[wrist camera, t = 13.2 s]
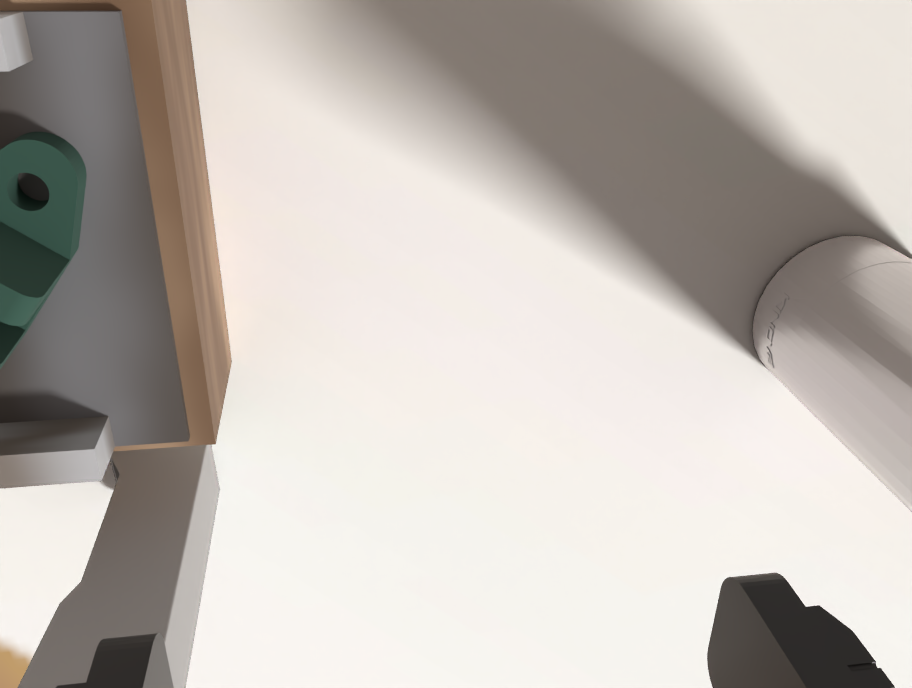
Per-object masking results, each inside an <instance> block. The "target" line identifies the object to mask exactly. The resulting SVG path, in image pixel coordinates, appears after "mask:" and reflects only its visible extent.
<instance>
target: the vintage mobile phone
mask: <svg viewBox="0 0 912 688" xmlns="http://www.w3.org/2000/svg"><path fill="white" fill-rule="evenodd" d="M110 460H111V464H112V468H113V472H114V476H115V480H116V486H115V488H114V491H113V494H112V497H111V500H110V502H109V505H108V508H107V511H106V513H105V516H104V519H103V522H102V525H101V527H100V530H99V533H98V536H97V539H96V541H95V544H94V547H93V550H92V552H91V555H90V558H89V561H88V564H87V566H86V569H85V572H84V575H83V578H82V580H81V582H80V583H79V584H78V585H77V586H76V587H75V588H74V589H73V590H72V591H71V593H70V594H69V595H68V596H67V597H66V598H65V599H64V600H63V601H62V602H61V603H60V604H59V606H58V608H57V610H56V612H55V614H54V616H53V618H52V620H51V622H50V624H49V626H48V628H47V630H46V632H45V634H44V636H43V638H42V640H41V642H40V644H39V646H38V648H37V650H36V652H35V654H34V656H33V658H32V660H31V662H30V664H29V666H28V669H27V670H26V672H25V674H24V676H23V678H22V680H21V682H20V684H19V686H18V688H56V687H57V686H58V685H67V684H76V683H86V681H87V678H88V674H89V671H90V668H91V665H92V661H93V658H94V655H95V652H96V649H97V646H98V644H99V642H100V641H101V640H102V639H106V638H116V637H126V636H136V635H146V634H156V633H160V634H161V635H162V636H163V639H164V643H165V647H166V652H167V657H168V662H169V667H170V672H171V677H172V682H173V686H174V688H186V682H187V676H188V670H189V664H190V659H191V653H192V647H193V641H194V635H195V630H196V624H197V618H198V612H199V606H200V601H201V595H202V589H203V583H204V578H205V572H206V566H207V560H208V554H209V549H210V543H211V537H212V531H213V525H214V520H215V514H216V508H217V502H218V496H219V491H220V488H219V483H218V477H217V472H216V467H215V462H214V457H213V451H212V446H211V445H197V446H183V447H169V448H155V449H141V450H127V451H113V453H112V456H111V458H110Z"/></svg>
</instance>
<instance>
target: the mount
mask: <svg viewBox="0 0 912 688" xmlns="http://www.w3.org/2000/svg"><path fill="white" fill-rule="evenodd" d="M19 173H31V174H34V175H36V176H38V177H39V178H40V179H42V180H43V181H44V182H45V184H46V185H47V187H48V190H49V200H45V201H40V200H35V199H32V198H30V197H29V196H27V195H26V194H25V193H24V192H23V191H22V189H21V188H20V186H19V183H18V175H19ZM86 177H87V174H86V167H85V164H84V161H83V159H82V157H81V155H80V154H79V152H78V151H77V150H76V149H75V148H74V147H73V146H72V145H71V144H70V143H69V142H67V141H66V140H65V139H63V138H61V137H59V136H57V135H54V134H51V133H47V132H30V133H26V134H23V135H21V136H19V137H18V138H16V139H15V140H13V141H12V142H10V143H9V144H8V145H6V146H5V147H3V148H2V149H0V369H1V367H2V366H3V365H4V363H5V362H6V360H7V359H8V358H9V356H10V355H11V353H12V352H13V351H14V349H15V348H16V346H17V345H18V343H19V342H20V341H21V339H22V338H23V336H24V335H25V334H26V332H27V331H28V329H29V327H30V326H31V324H32V323H33V321H34V319H35V318H36V316H37V314H38V313H39V311H40V310H41V308H42V306H43V305H44V303H45V302H46V300H47V298H48V297H49V295H50V294H51V292H52V290H53V289H54V287H55V285H56V284H57V282H58V281H59V279H60V277H61V276H62V274H63V273H64V271H65V269H66V268H67V266H68V265H69V263H70V261H71V260H72V258H73V256H74V255H75V253H76V252H77V250H78V248H79V240H80V231H81V222H82V213H83V205H84V196H85V187H86Z"/></svg>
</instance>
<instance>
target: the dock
mask: <svg viewBox="0 0 912 688" xmlns="http://www.w3.org/2000/svg"><path fill="white" fill-rule="evenodd" d="M30 132H47V133H51V134H54V135H57V136H59V137H61V138H63V139H65V140H66V141H67V142H69V143H70V144H71V145H72V146H73V147H74V148H75V149H76V150H77V151H78V152H79V154H80V155H81V157H82V159H83V161H84V164H85V167H86V174H87V177H86V187H85V196H84V205H83V213H82V222H81V231H80V240H79V248H78V250H77V252H76V253H75V255H74V256H73V258H72V260H71V261H70V263H69V265H68V266H67V268H66V269H65V271H64V273H63V274H62V276H61V277H60V279H59V281H58V282H57V284H56V285H55V287H54V289H53V290H52V292H51V294H50V295H49V297H48V298H47V300H46V302H45V303H44V305H43V306H42V308H41V310H40V311H39V313H38V314H37V316H36V318H35V319H34V321H33V323H32V324H31V326H30V327H29V329H28V331H27V332H26V334H25V335H24V336H23V338H22V339H21V341H20V342H19V343H18V345H17V346H16V348H15V349H14V351H13V352H12V353H11V355H10V356H9V358H8V359H7V360H6V362H5V363H4V365H3V366H2V367H1V369H0V488H12V487H26V486H39V485H52V484H65V483H78V482H92V481H102V479H103V476H104V474H105V471H106V468H107V466H108V463H109V461H110V458H111V456H112V453H113V451H127V450H141V449H155V448H169V447H183V446H197V445H211V444H216V439H217V434H218V429H219V423H220V418H221V413H222V408H223V403H224V398H225V393H226V388H227V383H228V378H229V372H230V367H231V362H232V361H231V353H230V345H229V337H228V329H227V322H226V314H225V306H224V298H223V290H222V282H221V274H220V266H219V259H218V251H217V243H216V235H215V227H214V219H213V211H212V203H211V195H210V188H209V180H208V172H207V164H206V156H205V148H204V140H203V132H202V125H201V117H200V109H199V101H198V93H197V85H196V77H195V69H194V61H193V54H192V46H191V38H190V30H189V22H188V14H187V6H186V0H0V149H2V148H3V147H5V146H6V145H8V144H9V143H10V142H12V141H13V140H15V139H16V138H18V137H19V136H21V135H23V134H26V133H30ZM18 183H19V186H20V188H21V189H22V191H23V192H24V193H25V194H26V195H27V196H29V197H30V198H32V199H35V200H40V201H45V200H49V190H48V187H47V185H46V184H45V182H44V181H43V180H42V179H40V178H39V177H38V176H36V175H34V174H31V173H19V175H18Z"/></svg>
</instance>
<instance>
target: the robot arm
mask: <svg viewBox="0 0 912 688" xmlns="http://www.w3.org/2000/svg"><path fill="white" fill-rule="evenodd" d="M753 339H754V346H755V349H756V351H757V354H758V356H759V358H760V360H761V361H762V363H763V364H764V365H765V366H766V368H767V369H768V370H769V371H770V372H771V373H772V374H773V375H774V376H775V377H776V378H777V379H778V380H779V381H780V382H781V383H782V384H783V385H784V386H785V387H786V388H787V389H788V390H789V391H790V392H791V393H792V394H793V395H794V396H795V397H796V398H797V399H798V400H799V401H800V402H801V403H802V404H803V405H804V406H805V407H806V408H807V409H808V410H809V411H810V412H811V413H812V414H813V415H814V416H815V417H816V418H817V419H818V420H819V421H820V422H821V423H822V424H823V425H824V426H825V427H826V428H827V429H828V430H829V431H830V432H831V433H832V434H833V435H834V436H835V437H836V438H837V439H838V440H839V441H840V442H841V443H842V444H843V445H844V446H845V447H846V448H847V449H848V450H849V451H850V452H851V453H852V454H854V455H855V456H856V457H857V458H858V459H859V460H860V461H861V462H862V463H863V464H864V465H865V466H866V467H867V468H868V469H869V470H870V471H871V472H872V473H873V474H874V475H875V476H876V477H877V478H878V479H879V480H880V481H881V482H882V483H883V484H884V485H885V486H886V487H887V488H888V489H889V490H890V491H891V492H892V493H893V494H894V495H895V496H896V497H897V498H898V499H899V500H900V501H901V502H902V503H903V504H904V505H905V506H906V507H907V508H908V509H909V510H910V511H911V512H912V258H911V259H910V258H908V257H907V256H905V255H903V254H901V253H899V252H898V251H896V250H894V249H892V248H891V247H889V246H887V245H885V244H883V243H881V242H879V241H877V240H875V239H872V238H867V237H862V236H841V237H836V238H832V239H828V240H824V241H822V242H820V243H817V244H815V245H813V246H811V247H808V248H807V249H805V250H804V251H802V252H801V253H799V254H798V255H796V256H795V257H793V258H792V259H791V260H790V261H789V262H787V263H786V264H785V265H784V266H783V267H782V268H781V269H780V270H779V271H778V272H777V273H776V275H775V276H774V277H773V279H772V280H771V281H770V282H769V284H768V285H767V287H766V289H765V290H764V292H763V294H762V296H761V298H760V300H759V302H758V305H757V309H756V312H755V315H754V322H753ZM707 660H708V670H709V676H710V680H711V683H712V687H713V688H895V687H894V685H893V684H892V683H891V681H890V680H889V679H888V677H887V676H886V675H885V673H884V672H883V671H882V669H881V668H877V666H876V661H875V660H874V659H873V657H872V656H871V655H870V653H869V652H868V651H867V649H866V648H865V647H864V645H863V644H862V643H861V642H860V640H859V639H858V638H857V636H856V635H855V634H854V632H853V631H852V630H851V629H849V628H848V627H847V626H845V625H844V624H843V623H841V622H840V621H839V620H838V619H836V618H835V617H834V616H832V615H831V614H830V613H828V612H827V611H826V610H824V609H823V608H822V607H820V606H810V607H805V605H804V604H803V603H802V601H801V600H800V598H799V597H798V596H797V594H796V593H795V591H794V590H793V589H792V587H791V586H790V584H789V583H788V582H787V580H786V579H785V578H784V577H783V576H782V575H780V574H778V573H768V574H758V575H748V576H738V577H729V578H726V579H725V580H724V581H723V584H722V586H721V590H720V595H719V600H718V604H717V609H716V614H715V618H714V623H713V628H712V633H711V637H710V642H709V647H708V655H707ZM56 688H174V686H173V682H172V677H171V672H170V667H169V662H168V657H167V652H166V647H165V643H164V639H163V636H162V635H161V634H160V633H156V634H146V635H136V636H126V637H116V638H106V639H102V640H101V641H100V642H99V644H98V646H97V649H96V652H95V655H94V658H93V661H92V665H91V668H90V671H89V674H88V678H87V681H86V683H76V684H67V685H58V686H57V687H56Z"/></svg>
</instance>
